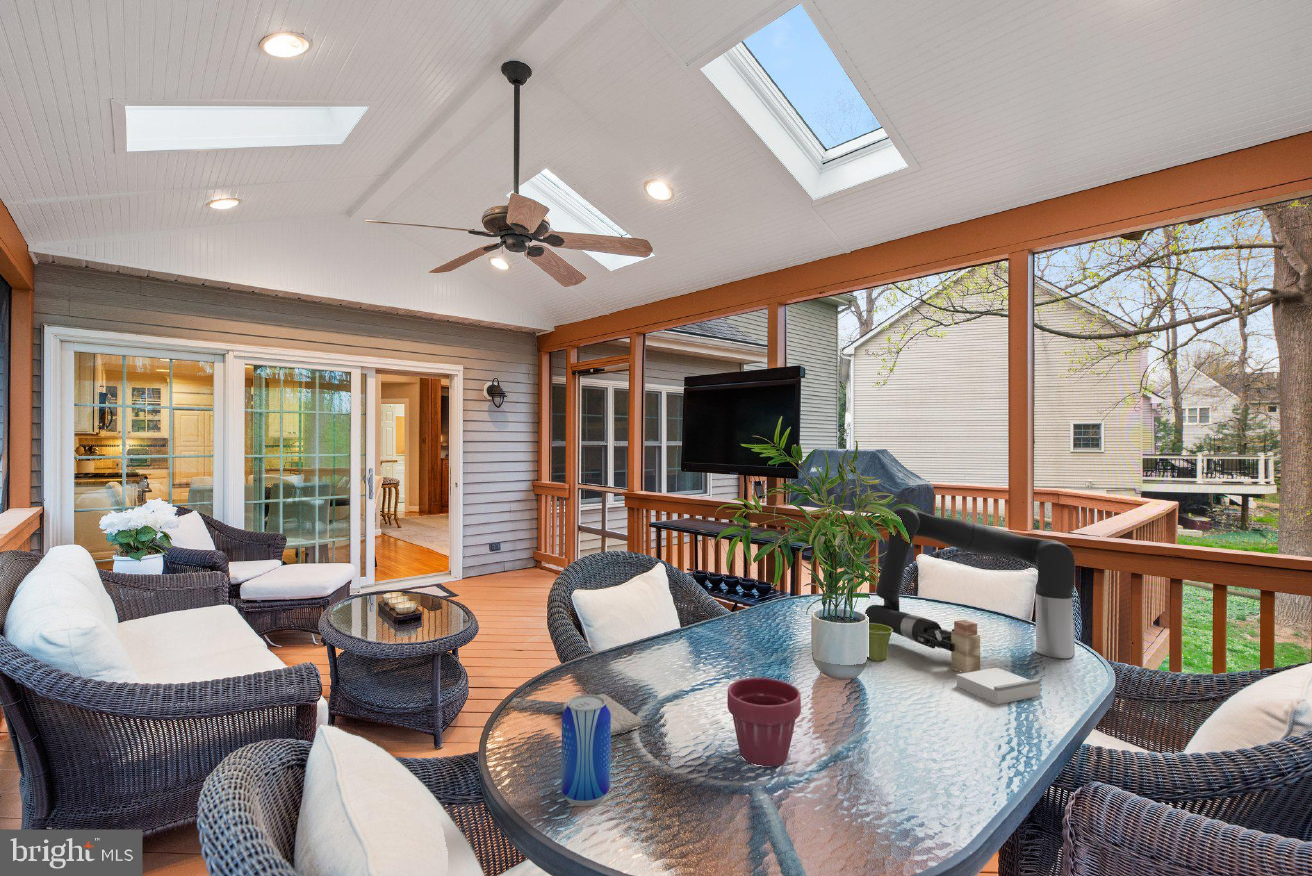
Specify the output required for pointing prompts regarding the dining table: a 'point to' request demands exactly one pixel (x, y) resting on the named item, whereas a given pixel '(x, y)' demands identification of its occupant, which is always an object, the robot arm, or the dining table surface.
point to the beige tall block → (965, 647)
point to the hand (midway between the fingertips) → (965, 646)
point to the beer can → (585, 750)
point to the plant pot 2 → (878, 641)
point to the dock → (998, 685)
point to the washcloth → (618, 716)
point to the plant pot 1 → (764, 718)
